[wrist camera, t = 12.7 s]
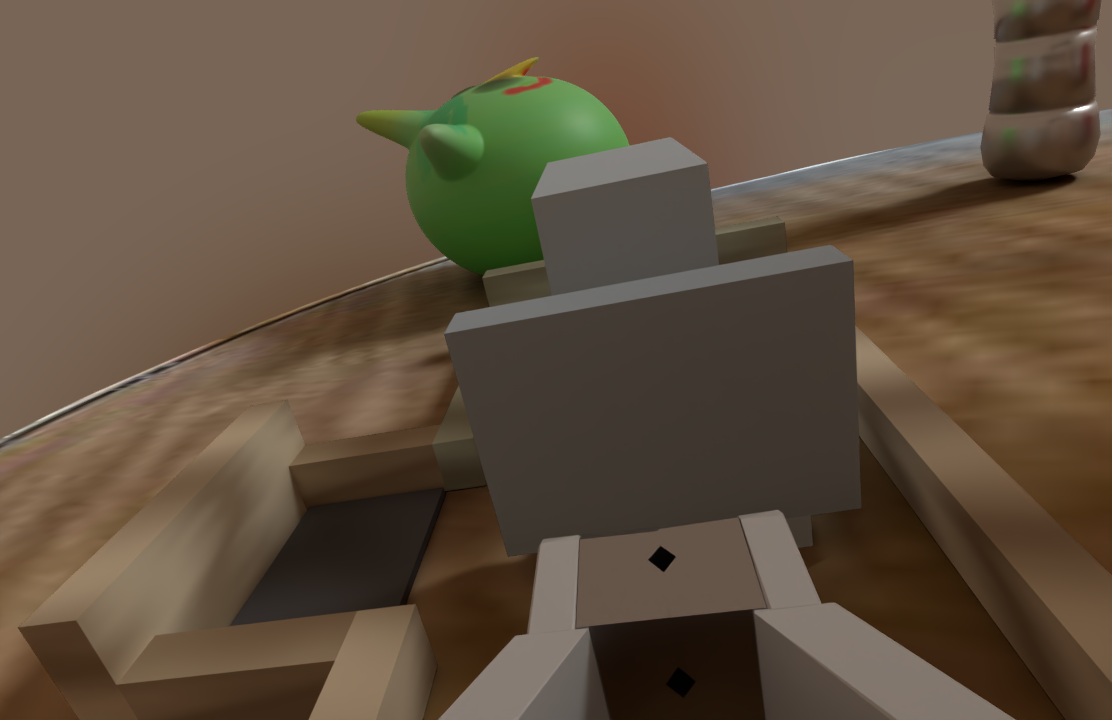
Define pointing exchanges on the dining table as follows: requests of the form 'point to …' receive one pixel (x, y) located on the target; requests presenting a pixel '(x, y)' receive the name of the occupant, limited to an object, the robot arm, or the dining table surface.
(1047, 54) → the plastic bottle
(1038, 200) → the dining table surface
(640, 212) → the bookend block
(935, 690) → the robot arm
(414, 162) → the toy bird
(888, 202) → the dining table surface
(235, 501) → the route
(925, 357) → the dining table surface
